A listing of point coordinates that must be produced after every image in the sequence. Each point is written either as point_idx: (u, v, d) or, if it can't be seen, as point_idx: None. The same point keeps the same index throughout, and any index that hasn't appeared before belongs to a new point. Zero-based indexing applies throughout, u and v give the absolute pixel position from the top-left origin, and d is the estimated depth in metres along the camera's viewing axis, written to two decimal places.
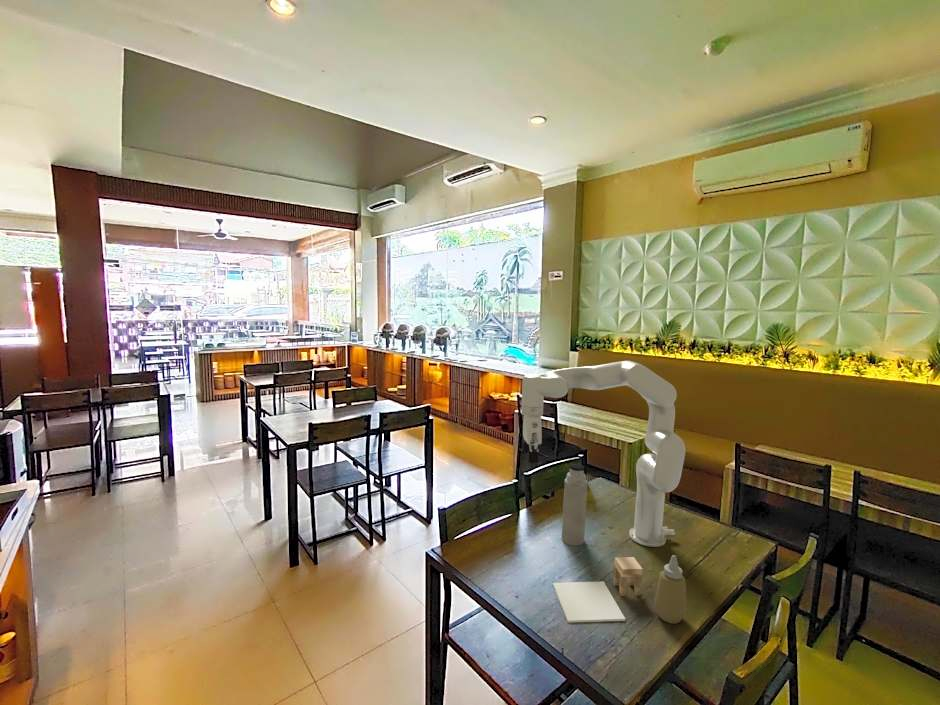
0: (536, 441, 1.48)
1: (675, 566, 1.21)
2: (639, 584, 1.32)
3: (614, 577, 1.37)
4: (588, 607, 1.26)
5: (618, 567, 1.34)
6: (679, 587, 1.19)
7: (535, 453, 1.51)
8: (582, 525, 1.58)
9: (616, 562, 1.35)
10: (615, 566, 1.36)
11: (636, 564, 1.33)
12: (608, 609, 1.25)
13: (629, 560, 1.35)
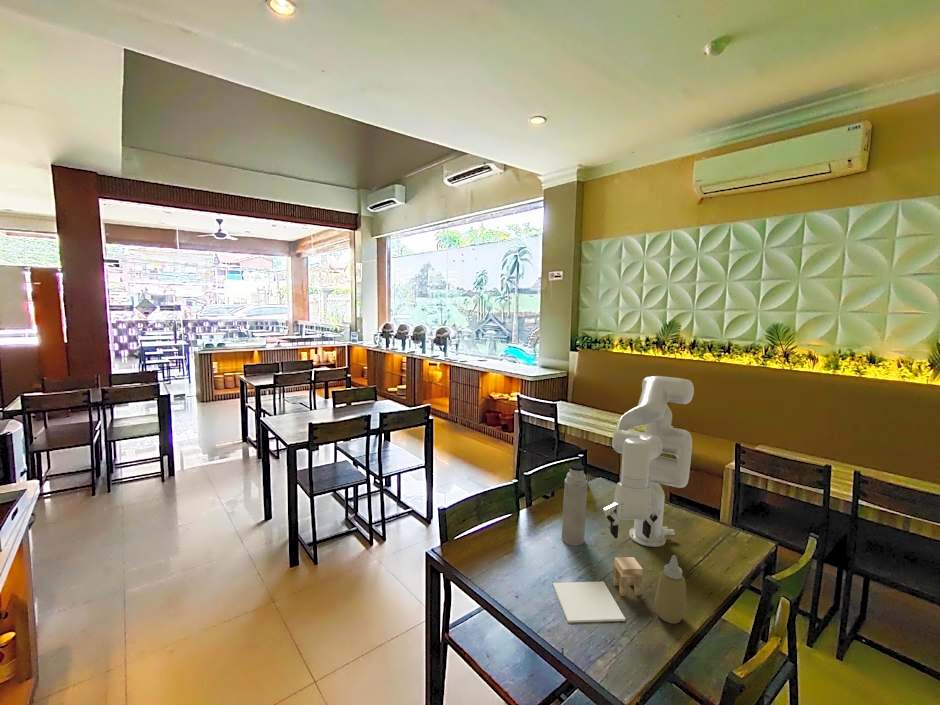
0: (658, 508, 1.32)
1: (675, 566, 1.21)
2: (639, 584, 1.32)
3: (614, 577, 1.37)
4: (588, 607, 1.26)
5: (618, 567, 1.34)
6: (679, 587, 1.19)
7: None
8: (582, 525, 1.58)
9: (616, 562, 1.35)
10: (615, 566, 1.36)
11: (636, 564, 1.33)
12: (608, 609, 1.25)
13: (629, 560, 1.35)
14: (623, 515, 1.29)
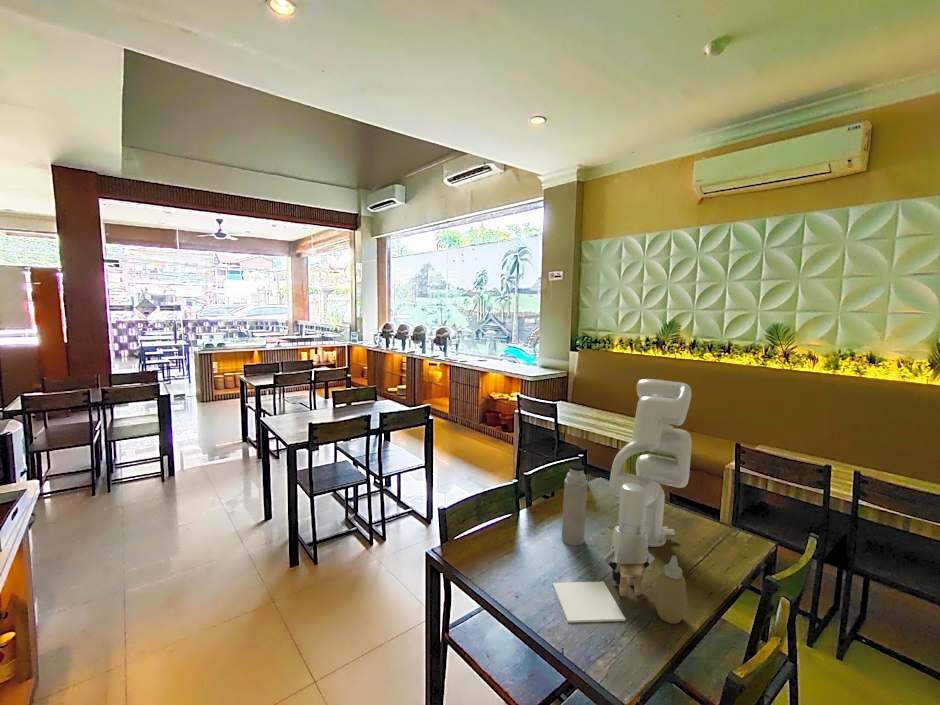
0: (652, 556, 1.34)
1: (675, 566, 1.21)
2: (639, 584, 1.32)
3: None
4: (588, 607, 1.26)
5: None
6: (679, 587, 1.19)
7: None
8: (582, 525, 1.58)
9: None
10: None
11: (636, 564, 1.33)
12: (608, 609, 1.25)
13: None
14: (620, 560, 1.31)
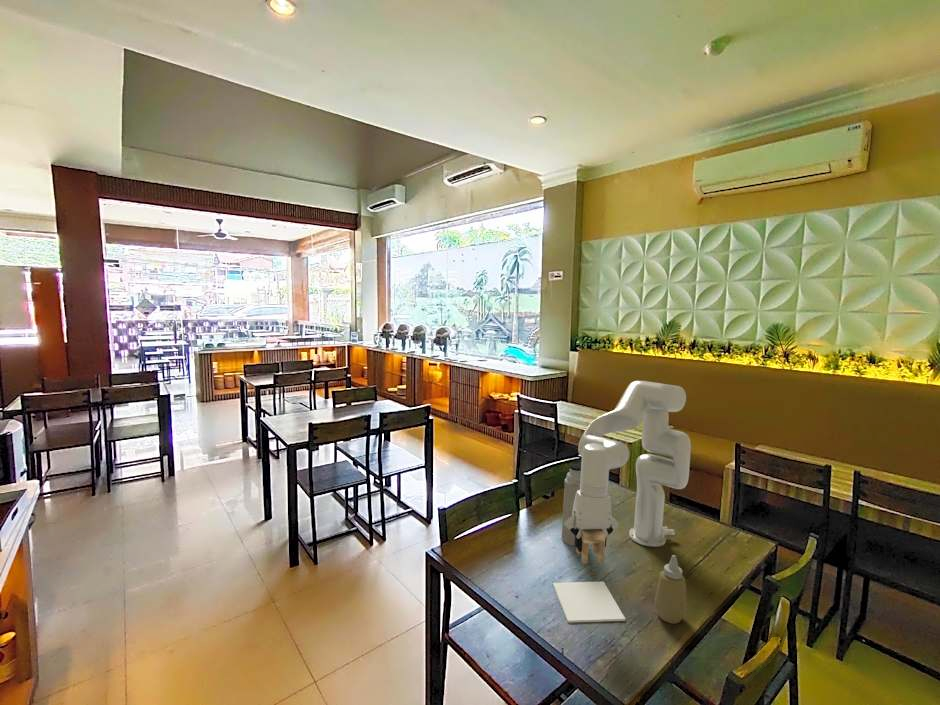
0: (616, 521, 1.27)
1: (675, 566, 1.21)
2: (602, 551, 1.24)
3: None
4: (588, 607, 1.26)
5: None
6: (679, 587, 1.19)
7: None
8: None
9: None
10: None
11: (599, 530, 1.25)
12: (608, 609, 1.25)
13: None
14: (582, 525, 1.24)
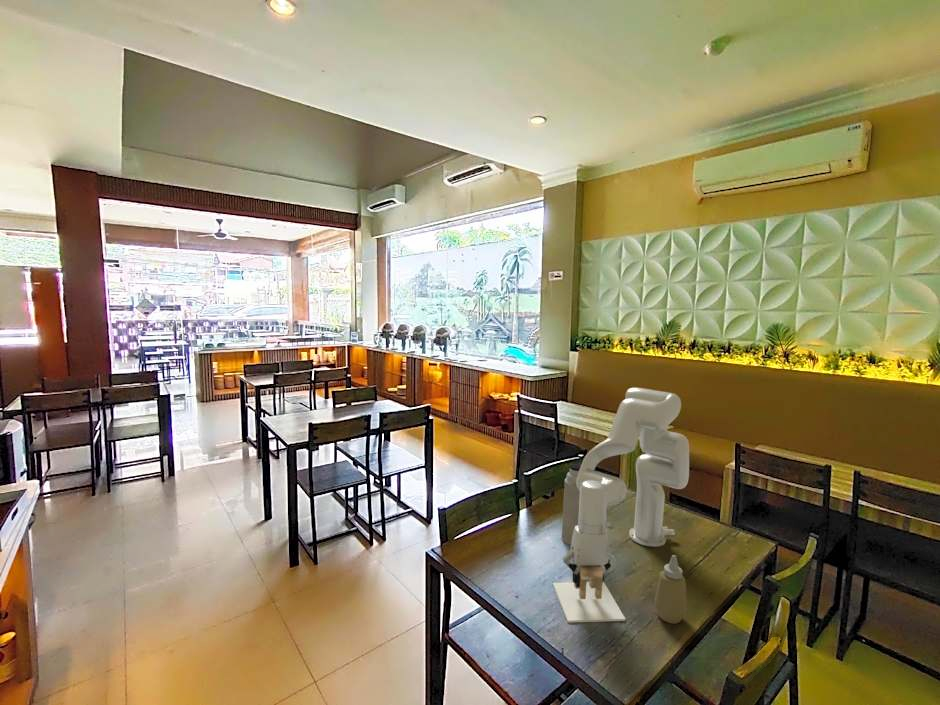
0: (614, 557, 1.28)
1: (675, 566, 1.21)
2: (600, 587, 1.25)
3: None
4: (588, 607, 1.26)
5: None
6: (679, 587, 1.19)
7: None
8: None
9: None
10: None
11: (597, 566, 1.27)
12: (608, 609, 1.25)
13: None
14: (580, 561, 1.25)
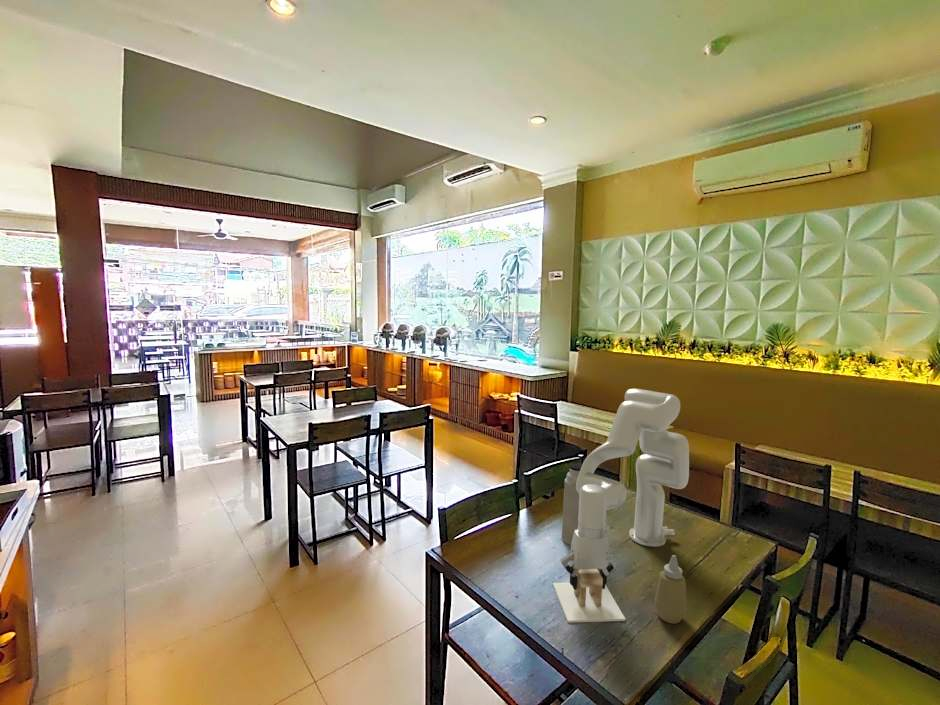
0: None
1: (675, 566, 1.21)
2: (599, 595, 1.26)
3: None
4: (588, 607, 1.26)
5: (578, 577, 1.27)
6: (679, 587, 1.19)
7: None
8: None
9: None
10: (576, 575, 1.30)
11: (597, 574, 1.27)
12: (608, 609, 1.25)
13: (590, 570, 1.29)
14: (579, 565, 1.25)
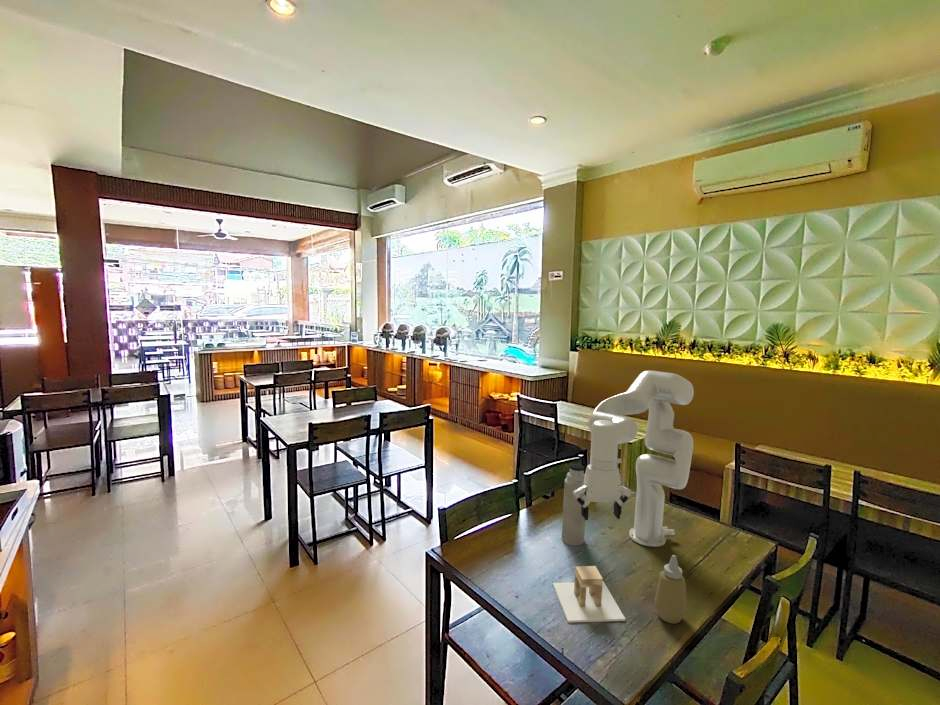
0: (628, 489, 1.32)
1: (675, 566, 1.21)
2: (599, 595, 1.26)
3: (575, 587, 1.31)
4: (588, 607, 1.26)
5: (578, 577, 1.27)
6: (679, 586, 1.19)
7: None
8: (582, 525, 1.58)
9: (577, 572, 1.29)
10: (576, 575, 1.30)
11: (597, 574, 1.27)
12: (608, 609, 1.25)
13: (590, 570, 1.29)
14: (593, 497, 1.29)
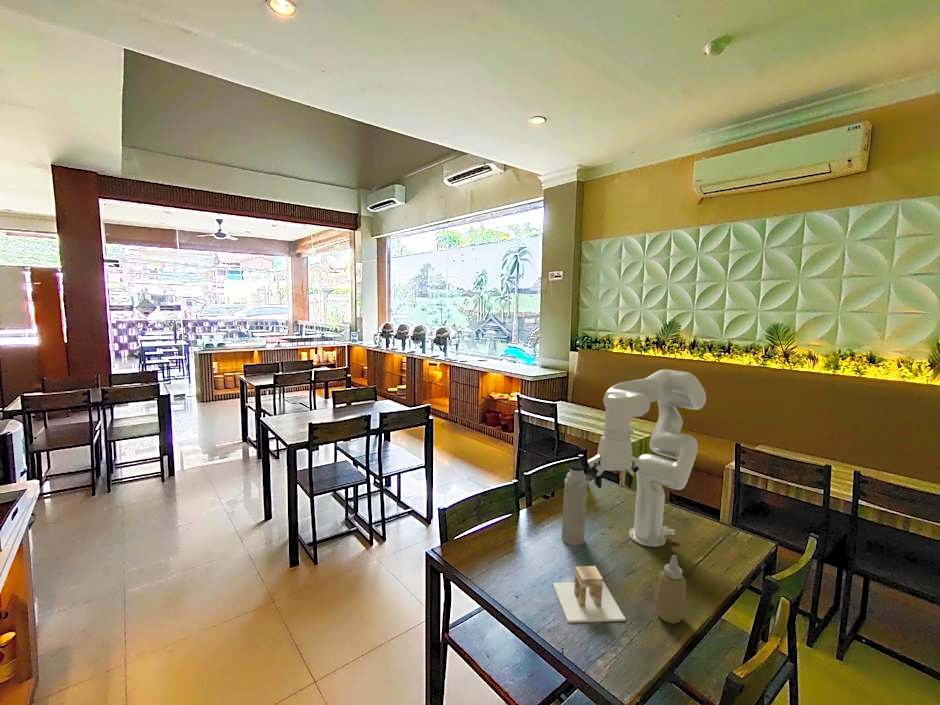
0: (639, 460, 1.41)
1: (675, 566, 1.21)
2: (599, 595, 1.26)
3: (575, 587, 1.31)
4: (588, 607, 1.26)
5: (578, 577, 1.27)
6: (679, 587, 1.19)
7: None
8: (582, 525, 1.58)
9: (577, 572, 1.29)
10: (576, 575, 1.30)
11: (597, 574, 1.27)
12: (608, 609, 1.25)
13: (590, 570, 1.29)
14: (606, 466, 1.38)
